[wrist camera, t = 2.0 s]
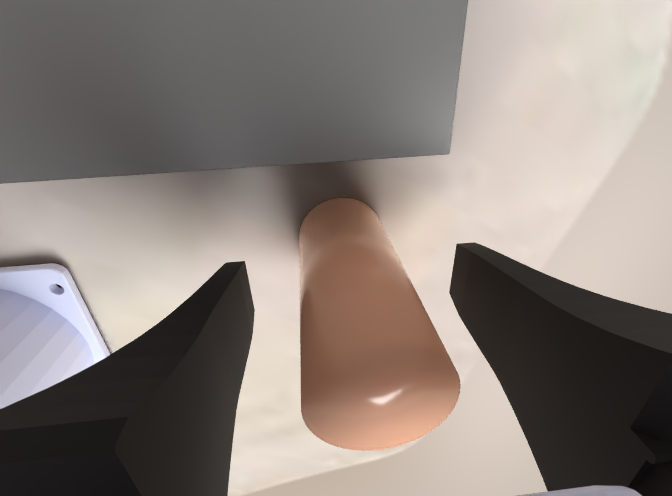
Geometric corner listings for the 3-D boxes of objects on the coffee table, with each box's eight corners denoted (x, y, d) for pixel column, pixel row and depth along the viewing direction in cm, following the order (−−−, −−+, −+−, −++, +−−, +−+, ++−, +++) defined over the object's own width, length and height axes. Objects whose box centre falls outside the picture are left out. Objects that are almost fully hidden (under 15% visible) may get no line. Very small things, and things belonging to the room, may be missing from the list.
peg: (380, 268, 15) (449, 440, 8) (303, 275, 15) (307, 458, 8) (382, 194, 14) (471, 334, 7) (295, 200, 13) (293, 352, 6)
